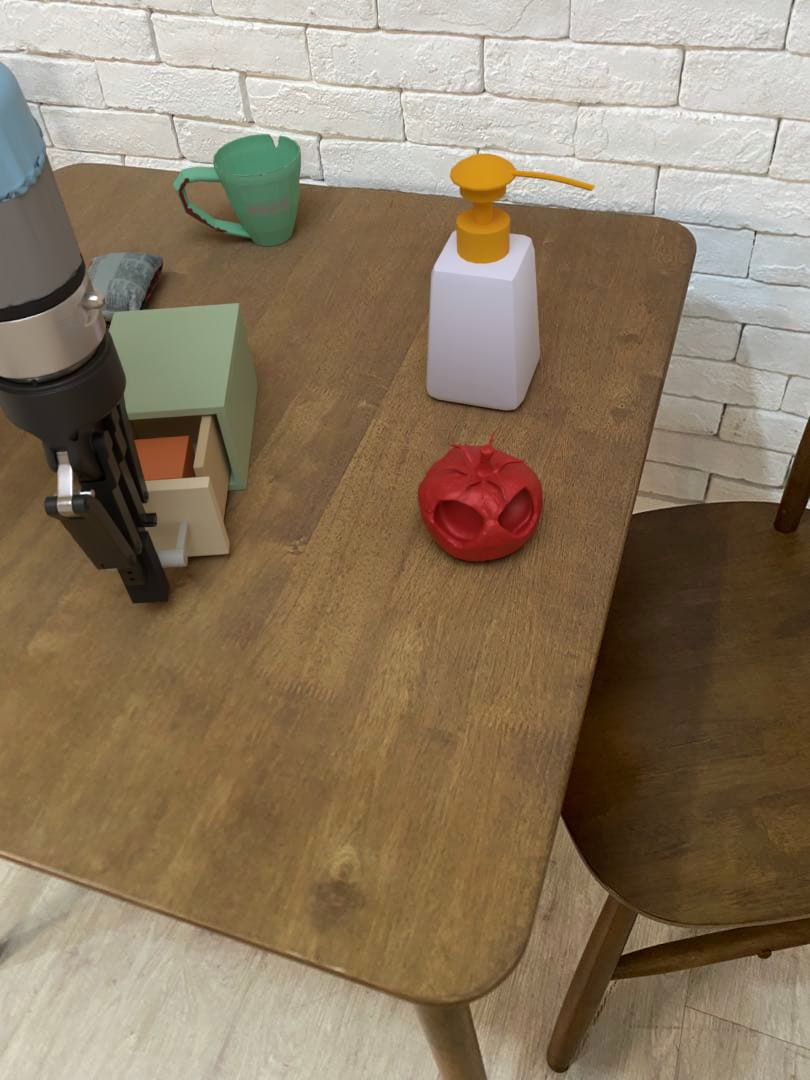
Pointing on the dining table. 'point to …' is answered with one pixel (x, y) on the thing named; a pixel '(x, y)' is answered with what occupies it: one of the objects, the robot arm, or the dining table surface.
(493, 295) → the soap bottle
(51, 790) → the dining table surface
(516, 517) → the red carved tomato
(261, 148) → the mug
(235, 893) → the dining table surface
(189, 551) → the drawer
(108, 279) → the packaged food
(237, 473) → the cabinet
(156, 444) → the block
